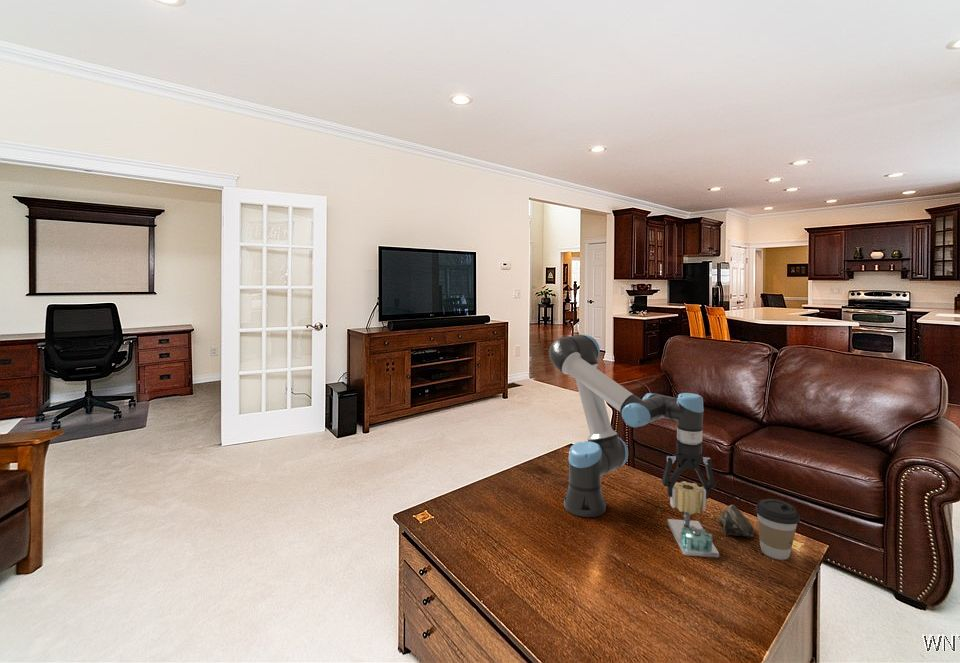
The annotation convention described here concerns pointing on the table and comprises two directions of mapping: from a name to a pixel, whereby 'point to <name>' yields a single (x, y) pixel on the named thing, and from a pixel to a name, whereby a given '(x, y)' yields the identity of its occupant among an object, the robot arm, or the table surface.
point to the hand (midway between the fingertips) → (687, 506)
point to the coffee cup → (776, 527)
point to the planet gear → (688, 497)
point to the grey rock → (735, 523)
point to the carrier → (692, 537)
